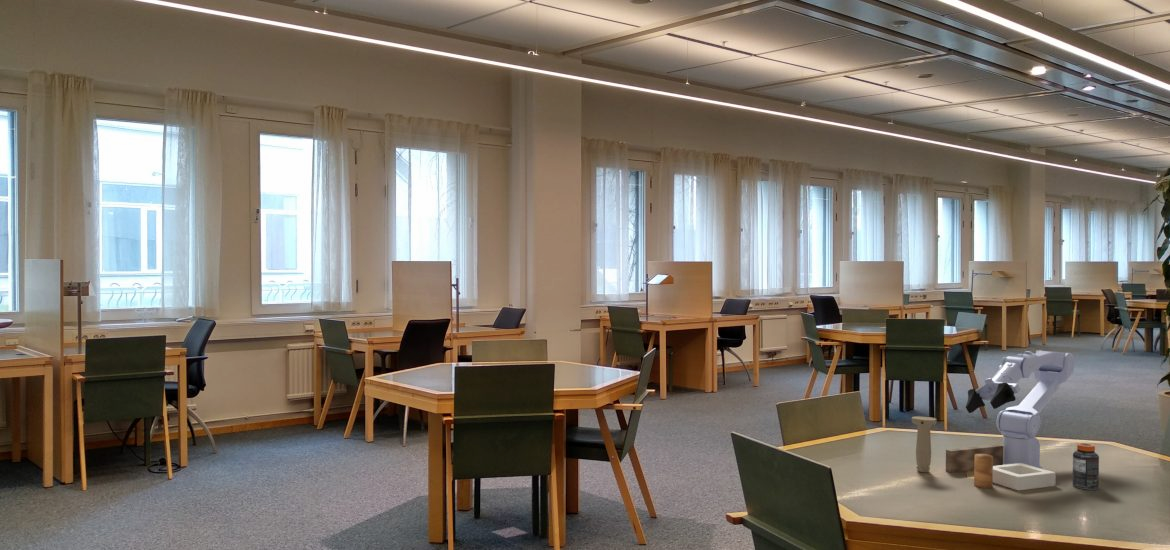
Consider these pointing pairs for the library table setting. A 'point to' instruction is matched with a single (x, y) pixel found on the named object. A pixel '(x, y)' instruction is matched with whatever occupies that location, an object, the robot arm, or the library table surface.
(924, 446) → the handle
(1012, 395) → the robot arm
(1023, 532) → the library table surface
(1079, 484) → the pill bottle
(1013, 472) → the socket block
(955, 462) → the wall
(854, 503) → the library table surface
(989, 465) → the dowel
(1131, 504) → the library table surface
